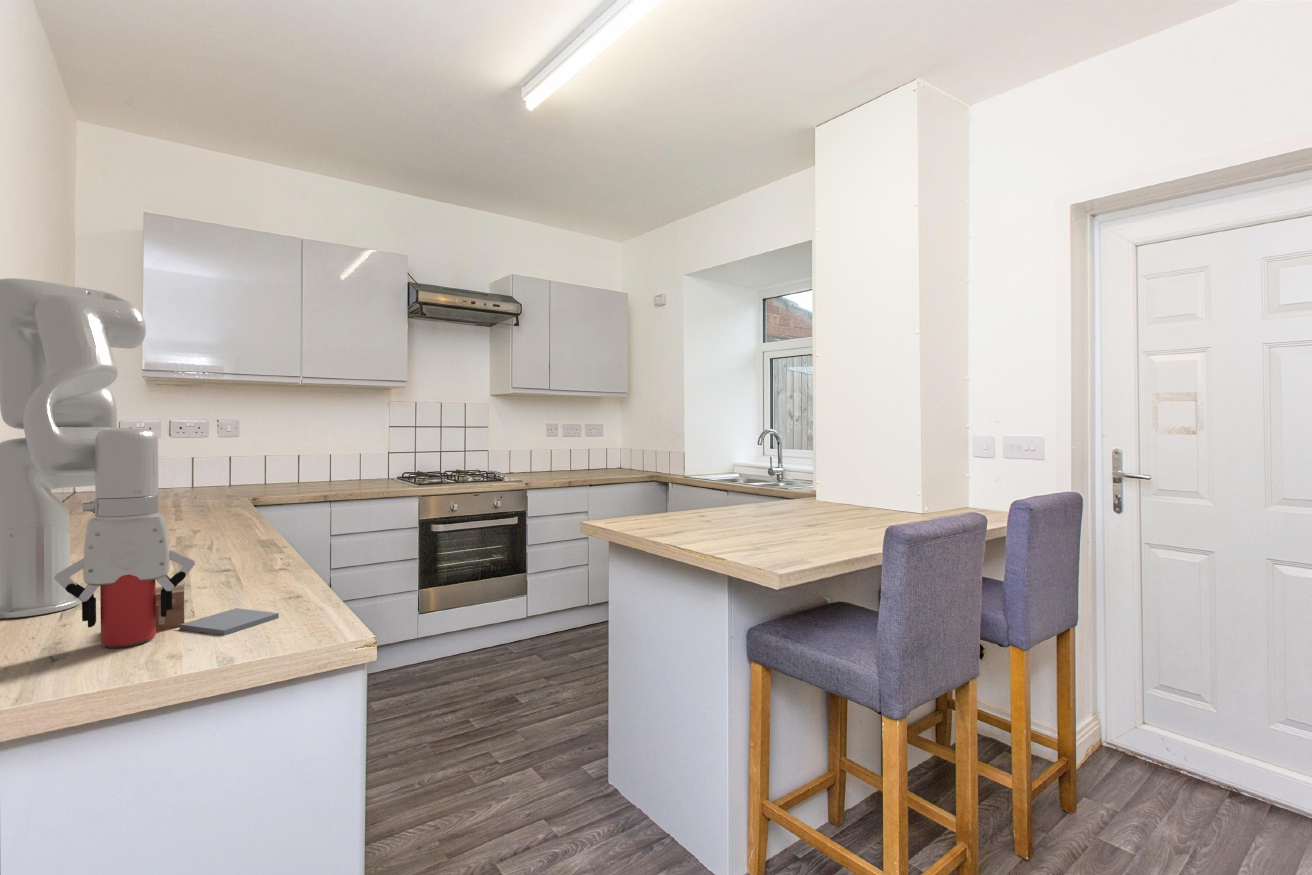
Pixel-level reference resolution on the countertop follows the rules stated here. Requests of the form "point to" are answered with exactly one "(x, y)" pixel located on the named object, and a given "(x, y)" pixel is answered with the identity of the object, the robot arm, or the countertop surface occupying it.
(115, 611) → the beer can
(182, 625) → the grey mat
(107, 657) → the countertop surface
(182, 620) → the letter block
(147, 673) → the countertop surface
